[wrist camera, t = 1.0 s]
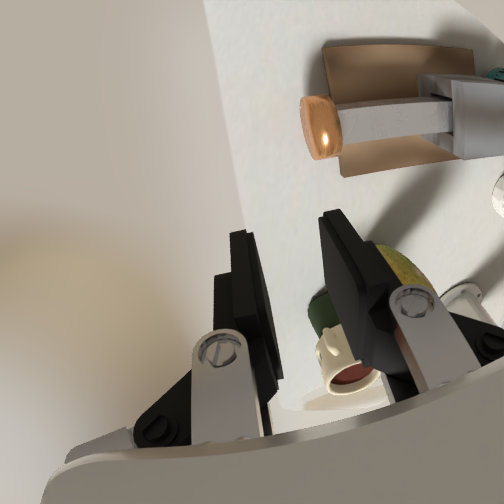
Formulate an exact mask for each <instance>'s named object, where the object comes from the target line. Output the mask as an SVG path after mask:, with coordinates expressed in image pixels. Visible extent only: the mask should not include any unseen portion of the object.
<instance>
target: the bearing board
mask: <svg viewBox="0 0 504 504" xmlns="http://www.w3.org/2000/svg"><path fill="white" fill-rule="evenodd" d="M322 53H323V58H324V63H325V69H326V74H327V80H328V86H329V92H330V98H331V99H332V101H333V103H334V105H337V104H345V103H353V102H362V101H372V100H383V99H396V98H412V97H438V96H445V97H448V98H452V101H453V131H452V132H440V133H430V134H420V135H411V136H402V137H394V138H386V139H379V140H372V141H365V142H358V143H352V144H346V145H343V146H342V152H341V154H340V156H339V165H340V174H341V175H342V176H343V177H344V178H346V177H351V176H356V175H362V174H367V173H373V172H379V171H385V170H390V169H396V168H403V167H409V166H415V165H422V164H428V163H435V162H442V161H449V160H456V159H463V160H469V159H477V158H485V157H493V156H502V155H504V82H500V81H496V80H492V79H488V78H483V77H478V76H475V69H474V58H473V50H470V49H462V48H452V47H441V46H427V45H396V44H383V45H352V46H337V47H325V48H322Z"/></svg>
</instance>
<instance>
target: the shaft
mask: <svg viewBox="0 0 504 504" xmlns="http://www.w3.org/2000/svg"><path fill="white" fill-rule="evenodd" d="M300 117H301V123H302V128H303V133H304V137H305V140H306V144H307V147H308V149H309V152H310V154H311V156H312V158H313V159H314V160H321V159H326V158H332V157H337V156H340V154H341V152H342V146H343V145H346V144H352V143H358V142H365V141H372V140H379V139H386V138H394V137H402V136H411V135H420V134H430V133H440V132H452V131H453V101H452V98H448V97H445V96H438V97H412V98H396V99H383V100H372V101H362V102H353V103H345V104H337V105H334V103H333V101H332V99H331V98H330V97H329V96H328V95H327V94H321V95H314V96H308V97H302V98H301V100H300Z"/></svg>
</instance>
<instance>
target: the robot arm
mask: <svg viewBox="0 0 504 504" xmlns="http://www.w3.org/2000/svg"><path fill="white" fill-rule="evenodd" d="M318 221H319V230H320V239H321V248H322V258H323V268H324V278H325V284H326V288H327V291H328V293H329V296H330V298H331V300H332V303H333V305H334V308H335V310H336V313H337V315H338V318H339V321H340V323H341V326H342V328H343V331H344V333H345V336H346V339H347V341H348V344H349V346H350V349H351V352H352V354H353V357H354V359H355V361H357V360H361V362H362V365H363V368H368V367H371V368H373V369H375V370H378V371H380V376H381V379H382V382H383V385H384V387H385V390H386V393H387V396H388V399H389V402H390V404H391V405H389V406H386V407H383V408H380V409H376V410H374V411H370V412H367V413H364V414H360V415H357V416H353V417H350V418H346V419H342V420H338V421H335V422H331V423H327V424H323V425H319V426H314V427H310V428H305V429H301V430H296V431H291V432H286V433H281V434H274V428H273V422H272V416H271V411H270V405H269V401H270V399H271V398H272V397H273V396H274V395H275V394H276V392H277V390H279V387H278V381H277V380H279V379H284V376H283V371H282V365H281V360H280V354H279V349H278V343H277V338H276V332H275V327H274V322H273V316H272V311H271V305H270V300H269V296H268V291H267V287H266V283H265V279H264V275H263V271H262V267H261V263H260V258H259V254H258V250H257V246H256V242H255V238H254V234H253V232H251V233H247V231H246V229H245V230H241V231H236V232H232V233H230V254H231V272H229V273H224V274H219V275H215V276H214V318H213V323H214V324H213V331H212V332H210V333H208V334H206V335H204V336H203V337H202V338H201V339H200V340H199V341H198V342H197V343H196V345H195V347H194V349H193V353H192V369H191V370H190V371H189V372H188V373H187V374H186V375H185V376H184V377H183V378H182V379H180V380H179V381H178V382H177V383H176V384H175V385H174V386H173V387H172V388H171V389H170V390H168V391H167V393H165V394H164V395H163V396H162V397H161V398H160V399H159V400H158V401H156V402H155V403H154V404H153V405H152V406H151V407H150V408H149V409H148V410H147V411H145V412H144V413H143V414H142V415H141V416H140V417H139V419H138V420H137V421H136V424H135V426H134V427H132V428H130V429H129V428H128V427H127V426H126V427H123V428H121V429H118V430H116V431H114V432H111V433H109V434H106V435H104V436H101V437H99V438H96V439H94V440H91V441H89V442H86V443H84V444H81V445H78V446H76V447H75V448H73V449H71V451H70V452H69V453H68V454H67V456H66V460H65V465H63V466H62V467H60V468H59V469H58V470H57V471H55V472H54V473H53V475H52V476H51V478H50V479H49V481H48V483H47V485H46V488H45V490H44V493H43V497H42V500H41V504H504V330H503V329H502V328H500V327H498V326H497V325H496V323H495V322H494V321H493V319H492V318H491V317H490V315H489V314H488V313H487V311H486V310H485V309H484V307H483V306H482V305H481V301H482V292H481V290H480V289H479V288H478V286H477V285H475V284H473V283H465V284H462V285H459V286H457V287H455V288H453V289H451V290H450V291H448V292H447V293H446V294H445V295H443V296H442V297H441V298H439V297H438V295H437V294H436V293H435V292H434V291H433V290H431V289H430V288H428V287H426V286H422V285H418V284H408V285H404V286H403V284H402V283H401V281H400V280H399V278H398V277H397V275H396V274H395V272H394V271H393V269H392V268H391V267H390V265H389V264H388V262H387V261H386V259H385V258H384V257H383V255H382V254H381V252H380V251H379V250H378V248H377V247H376V245H375V244H374V243H373V242H372V241H370V240H369V241H365V242H363V241H362V239H361V238H360V236H359V235H358V233H357V232H356V230H355V229H354V228H353V226H352V225H351V223H350V222H349V221H348V219H347V218H346V216H345V215H344V214H343V212H342V211H341V210H340V209H335V210H331V211H326V212H324V213H323V217H319V218H318Z"/></svg>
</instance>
